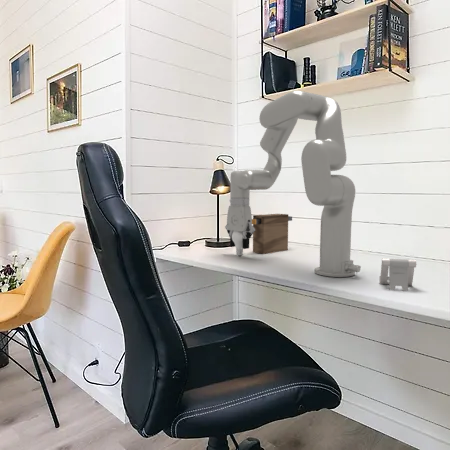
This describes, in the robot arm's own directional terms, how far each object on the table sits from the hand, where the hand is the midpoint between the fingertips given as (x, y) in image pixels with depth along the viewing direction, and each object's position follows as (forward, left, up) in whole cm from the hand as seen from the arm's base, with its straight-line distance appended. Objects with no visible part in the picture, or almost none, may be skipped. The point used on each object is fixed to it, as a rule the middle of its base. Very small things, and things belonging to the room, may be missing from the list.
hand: (239, 247), depth 171 cm
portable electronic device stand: (-66, +4, -4) cm, 66 cm away
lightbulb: (0, 0, -4) cm, 4 cm away
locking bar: (0, -20, +9) cm, 22 cm away
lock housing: (0, -19, -4) cm, 19 cm away
